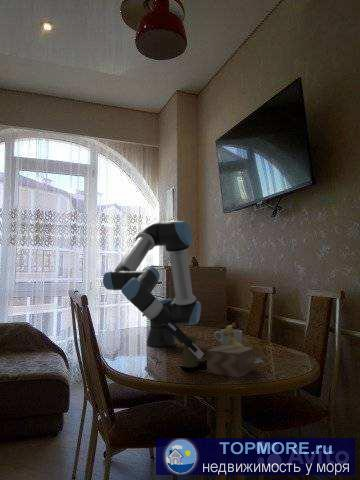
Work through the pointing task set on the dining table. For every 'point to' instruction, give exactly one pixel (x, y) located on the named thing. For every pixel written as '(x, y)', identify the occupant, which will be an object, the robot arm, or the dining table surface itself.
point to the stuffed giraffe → (232, 330)
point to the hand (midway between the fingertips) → (199, 354)
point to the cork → (189, 355)
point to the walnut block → (230, 360)
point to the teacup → (228, 337)
